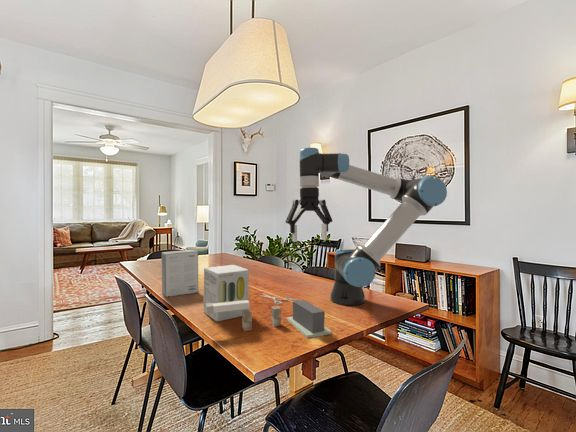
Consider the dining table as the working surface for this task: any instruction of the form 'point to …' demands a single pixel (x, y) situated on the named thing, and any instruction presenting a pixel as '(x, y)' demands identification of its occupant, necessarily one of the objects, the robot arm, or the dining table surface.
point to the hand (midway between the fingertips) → (309, 240)
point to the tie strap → (226, 306)
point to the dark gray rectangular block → (308, 316)
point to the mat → (307, 332)
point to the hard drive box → (179, 272)
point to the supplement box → (225, 288)
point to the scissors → (277, 298)
